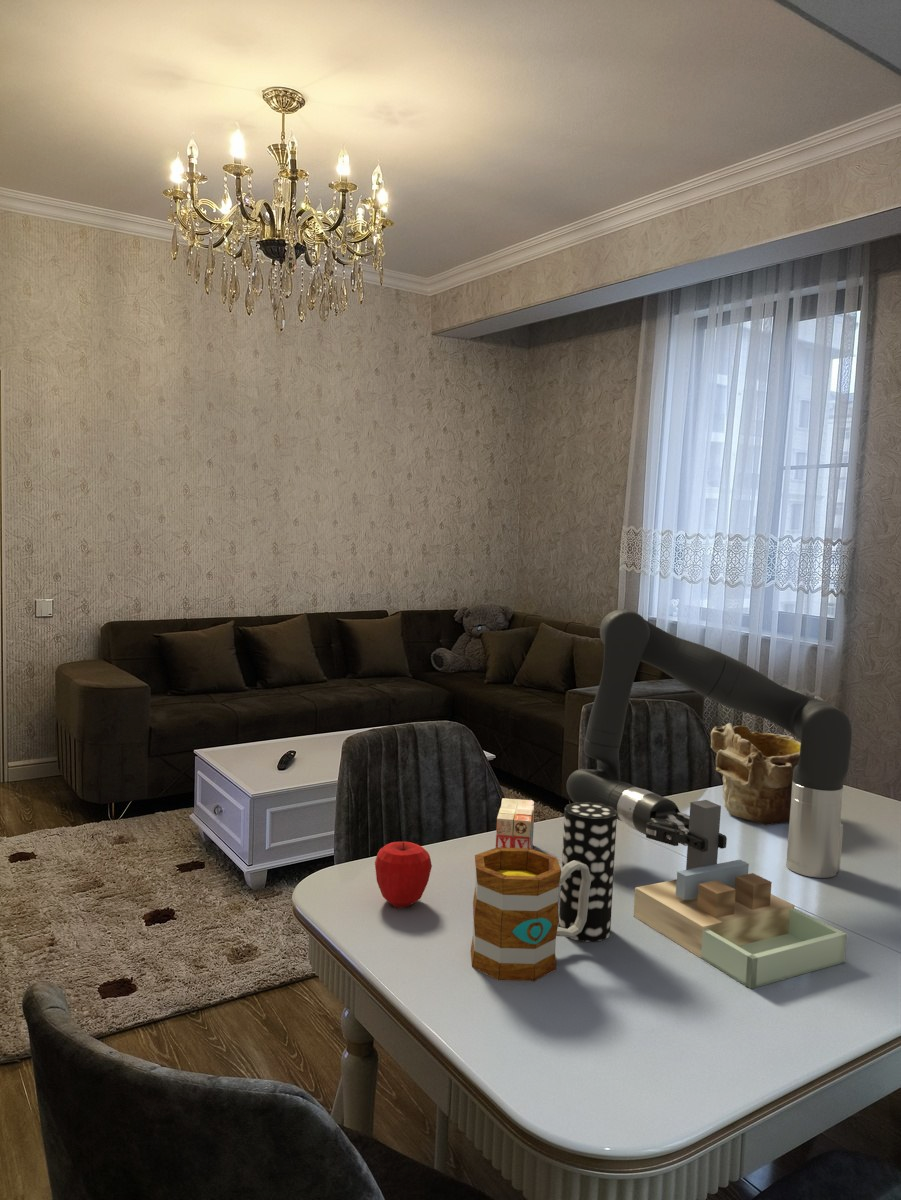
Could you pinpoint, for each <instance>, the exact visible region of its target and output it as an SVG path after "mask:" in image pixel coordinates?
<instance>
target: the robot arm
mask: <svg viewBox="0 0 901 1200" xmlns="http://www.w3.org/2000/svg"><path fill="white" fill-rule="evenodd" d="M599 636H600V639H601V642H602V644H603V663H602V664H603V665H602V672H601V677H600V681H599V685H598V689H597V691H596V695H595V697H594V701H593V704H592V707H591V711H590V715H589V718H588V723H587V727H586V732H585V738H584V743H583V752H584V754H585V755H586V756H587V757H588V758H591V759H594V760H596V765H597V767H596V769H591V768H590V769H589V768H587V769H586V768H580V769H577V770H574V771H573V772H571V774H569V777H568V779H566V780H567V781H566V793H567V794H568V797H569V798H570V799H571V800H572V802H573V803H577V802H591V803H598V804H603V805H607V806H609V807H612V808H613V809H615V810H616V811H617V821H620V822H622V823H624V824H625V825H627V826H628V827H629V828H631V829H633V830H634V831H637V832H639V833H641V834H643V835H645V838H646V839H649V840H653V841H655V842H656V841H657V842H660V843H663V844H667V845H669V846H673V847H678V846H679V844H680V845H682V846H683V847H688V846H691V847H693V848H696V849H698V850H700V851H702V852H706V851H708V839H707V838H705V837H702V836H700V835H698V834H696V833H693V832H690V831H689V817H690V815H689V814H687V813H684V812H681V810H679V807H678V805H677V804H676V803H675V802H674V801H673V800H671V799H668V798H666V797H664V796H661V795H660V794H657V793H655V792H652V791H650V790H647V789H646V788H640V787H638V786H635V785H634V784H633V785H632V784H631V783H628V782H625V781H621V771H620V748H621V744H622V739H623V733H624V730H625V729H624V728H625V722H626V718H627V711H628V707H629V703H630V702H629V701H630V696H631V691H632V688H633V685H634V680H635V678H636V676H637V675H636V674H637V671H638V668H639V665H640V663H641V662H642V663H645V664H648V665H650V666H652V667H654V668H656V669H659V670H660V671H662V672H663V673H665V674H666V675H668V676H669V677H671V678H673V679H674V680H675V681H677V682H679V683H680V684H682V685H683V686H685V687H686V688H687V689H690V690H692V691H694V692H695V693H697V694H699V695H701V696H703V697H704V698H707V699H709V700H711V701H714V702H715V703H717V704H720V705H723V706H725V707H727V708H729V709H733V710H736V711H739V712H742V713H744V714H745V713H746V714H750V715H754V716H758V717H760V718H762V719H765V720H768V721H770V722H771V723H773V724H775V725H776V726H779V727H780V728H782V729H784V730H785V731H787V732H789V733H790V734H791V735H793V736H794V737H796V738H797V739H799V740H800V743H801V746H800V756H799V762H798V765H796V766H795V767H794V769H793V779H792V793H791V808H790V821H789V822H788V823H789V824H788V837H787V849H786V850H787V851H786V863H785V864H786V867H787V868H788V869H789V870H790V871H792V872H793V873H796V874H799V875H802V876H805V877H810V878H811V877H812V878H816V879H817V878H818V879H820V878H821V879H827V878H832V877H835V876H836V875H837V872H840V869H841V857H842V846H843V845H842V843H843V834H844V833H843V832H844V825H843V823H841V821H842V820H841V819H842V810H843V809H842V808H843V793H844V781H845V778H846V777H847V775H848V771H849V765H850V758H851V756H850V755H851V749H852V741H853V740H852V738H853V735H852V734H853V729H852V724H851V720H850V719H849V717H848V716H847V714H846V713H845V712H843V710H841V709H839V708H838V707H836V706H834V705H833V704H831V703H829V702H827V701H824V700H821V699H818V698H815V697H812V696H809V695H807V694H806V695H805V694H803V693H799V692H797V691H794V690H792V689H790V688H788V687H784V686H782V685H781V684H779V683H777V682H775V681H773V680H772V679H770V678H769V677H768V676H766V675H764V674H763V673H762V672H760V671H758V670H756V669H754V668H752V667H750V666H749V665H747V664H745V663H744V662H742V661H739V660H738V659H736V658H733V657H731V656H729V655H727V654H725V653H724V652H723V653H722V652H720V651H718V650H716V649H713V648H710V647H708V646H705V645H701V644H699V643H696V642H693V641H690V640H687V639H684V638H681V637H678V636H676V635H673V634H671V633H669V632H667V631H665V630H663V629H662V628H659V627H658V626H656V625H655V624H653V623H651V622H649V621H648V620H647V619H645V618H644V617H643V616H642V615H640V614H639V613H637V612H636V611H633V610H631V609H626V608H623V609H622V608H620V609H616V610H615V609H614V610H613V611H611V612H609V613H608V614H607V615H605V617H604V618H603V619H602V621H601V623H600V626H599ZM727 838H728V837H727V836H726V835H725V834H723V833H722V832H721V833H720V832H719V839H718V849H721V850H722V849H726V848H727Z"/></svg>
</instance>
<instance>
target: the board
mask: <svg viewBox="0 0 901 1200" xmlns="http://www.w3.org/2000/svg"><path fill="white" fill-rule="evenodd" d="M676 883H677V878H676V879H671V880H667V881H662V882H657V883H652V884H647V885H642V886H636V887H635V888H634V900H633V901H634V903H633V904H634V905H633V917H635V918H636V919H637V920H639V921H640V922H642V923H644V924H645V925H647V926H648V927H650V928H652V929H654V930H655V931H657V932H658V933H660V934H661V935H663V936H664V937H666V938H668V939H670V940H671V941H673V942H674V943H676V944H677V945H679V946H680V947H682V948H684V949H685V950H687V951H688V952H689V953H690V952H691V953H692V954H694V955H695V956H697V957H698V958H700V959H702V958H701V950H702V934H703V930H704V929H709V930H711V931H712V932H714V933H716V934H718V935H719V936H721V937H723V938H725V939H726V940H728V941H730V942H732V943H733V944H735V945H737V946H741V945H745V944H749V943H753V942H757V941H761V940H765V939H769V938H773V937H777V936H781V935H784V934H788V931H789V917H790V909H793V908H795V904H793V903H790V902H788V901H787V900H785V899H782V898H780V897H779V896H776V895H774V894H772V893H771V898H770V906H767V907H762V908H758V909H754V910H752V909H750V908H748V907H746V906H744V905H742V904H740V903H738V902H736V901H735V906H734V914H732V915H727V916H723V917H719V918H714V917H712V916H710V915H708V914H707V913H705V912H703V911H701V910H699V909H698V908H697V903H698V897H696V898H691V899H686V900H683V899H682V898H680V897H678V896H676Z"/></svg>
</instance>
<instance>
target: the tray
mask: <svg viewBox="0 0 901 1200" xmlns="http://www.w3.org/2000/svg"><path fill="white" fill-rule="evenodd" d="M847 937H848V936H847V933H845V932H844V931H841V930H839V929H837V928H835V927H833V926H831V925H829V924H827V923H825V922H823V921H822V920H820V919H817V918H815V917H813V916H811V915H809V914H807V913H806V912H802V911H801V910H799V909H798V908H797V909H796V908H795V907H794V908H793V909H790V917H789V931H788V934H784V935H781V936H777V937H773V938H769V939H765V940H761V941H757V942H753V943H749V944H745V945H741V946H737V945H735V944H733V943H732V942H730V941H728V940H726V939H725V938H723V937H721V936H719V935H718V934H716V933H714V932H712V931H711V930H709V929H704V930H703V934H702V950H701V958H700V959H702V960H703V961H704V962H706V963H708V964H710V965H712V966H713V967H714V968H716V969H718V970H720V971H721V972H722V973H723V974H726V975H727V976H729V977H731V978H732V979H734V980H735V981H737V982H739V983H740V984H742V985H743V986H744V987H747V988H748V989H750V990H752V989H756V988H759V987H762V986H766V985H770V984H772V983H776V982H781V981H784V980H788V979H790V978H794V977H797V976H801V975H804V974H807V973H811V972H814V971H819V970H823V969H826V968H829V967H833V966H835V965H839V964H843V963H845V961H846V949H847Z"/></svg>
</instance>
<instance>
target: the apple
mask: <svg viewBox="0 0 901 1200" xmlns="http://www.w3.org/2000/svg"><path fill="white" fill-rule="evenodd" d="M374 867H375V877H376V883H377V886H378V888H379V890H380V893H381V895H382V897H383V899H385V901H387V902H388V903H389V904H390V905H391V906H393V907H395V908H399V909H401V908H402V909H403V908H407V907H408V908H409V906H412V905H413V904H415V903H416V902H418V901H419V900H421V898H422V896H423V894H424V891H425V890H426V888H427V885H428V883H429V879H430V877H431V876H430V875H431V872H432V867H433V865H432V860H431V856H430V853H429V851H427V850H426V849H425V848H424V847H423V846H422V845H419V844H417V843H414V842H411V841H393V842H390V843H387V844H385V845H384V846H383V847H381V848H380V849H379V851H378V852H377V854H376V857H375V860H374Z"/></svg>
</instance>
